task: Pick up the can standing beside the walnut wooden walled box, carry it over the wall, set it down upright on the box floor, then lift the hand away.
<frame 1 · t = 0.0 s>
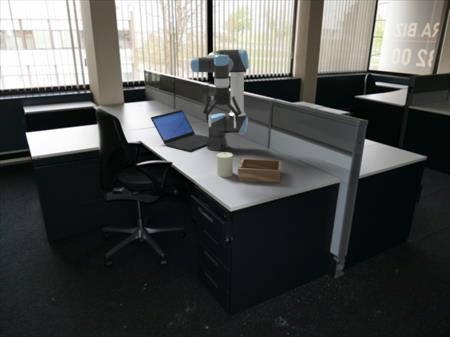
hand: (222, 127, 186), 28 cm above the table, tool pointing down, fingers open, 13 cm apart
laptop: (186, 142, 257), on the table
walled box: (259, 176, 195), on the table
can: (224, 174, 198), on the table
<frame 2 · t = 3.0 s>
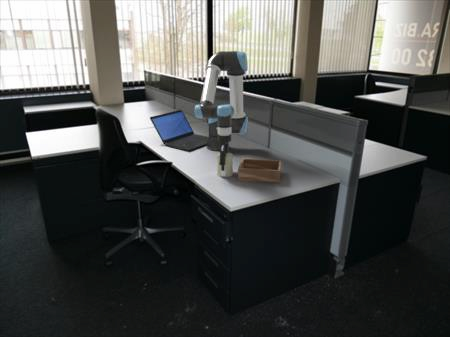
hand: (224, 172, 198), 1 cm above the table, tool pointing down, fingers closed on can, 9 cm apart
can: (224, 174, 198), on the table, touching gripper
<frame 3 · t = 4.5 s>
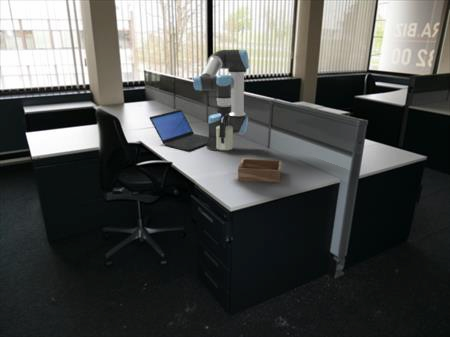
hand: (224, 145, 192), 17 cm above the table, tool pointing down, fingers closed on can, 9 cm apart
can: (224, 147, 193), point 15 cm above the table, touching gripper
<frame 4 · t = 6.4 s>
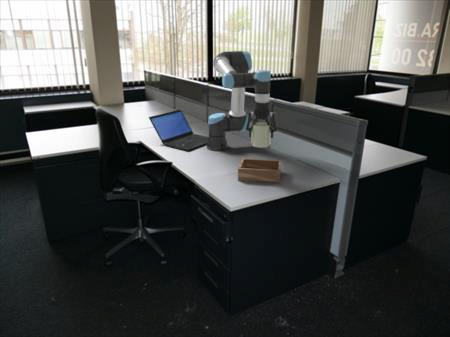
hand: (260, 143, 188), 19 cm above the table, tool pointing down, fingers closed on can, 9 cm apart
can: (260, 145, 188), point 18 cm above the table, touching gripper
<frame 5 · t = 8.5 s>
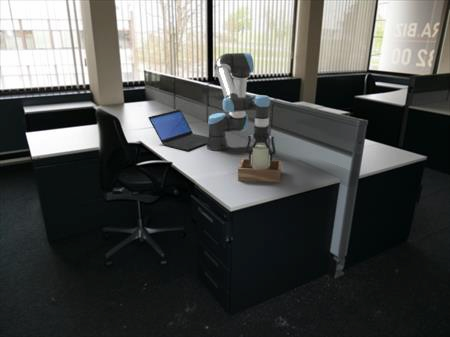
hand: (260, 165, 192), 7 cm above the table, tool pointing down, fingers closed on can, 9 cm apart
can: (260, 167, 193), point 5 cm above the table, touching gripper
when the fingers open (3 cm above the table, at t = 10.1 s): can drops 1 cm, resting on walled box.
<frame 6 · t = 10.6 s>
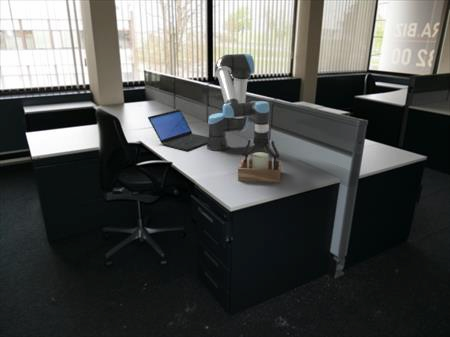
hand: (260, 168, 193), 5 cm above the table, tool pointing down, fingers open, 13 cm apart
can: (260, 174, 194), point 1 cm above the table, touching walled box
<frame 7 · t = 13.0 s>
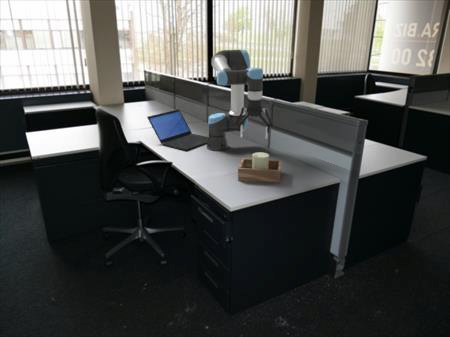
hand: (253, 137, 190), 21 cm above the table, tool pointing down, fingers open, 13 cm apart
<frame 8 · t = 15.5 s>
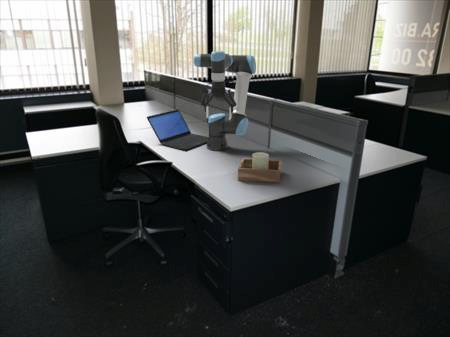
hand: (218, 117, 202), 29 cm above the table, tool pointing down, fingers open, 13 cm apart
at the end: can inside the target area on the walled box (0.0 cm from its centre), point 0.8 cm above the walled box's base; can tilted 0°; the gripper is holding nothing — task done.
